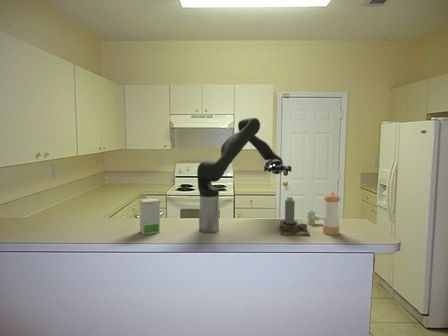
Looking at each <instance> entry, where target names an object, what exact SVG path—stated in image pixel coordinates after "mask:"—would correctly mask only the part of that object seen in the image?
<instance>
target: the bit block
mask: <svg viewBox="0 0 448 336" xmlns="http://www.w3.org/2000/svg"><path fill="white" fill-rule="evenodd" d="M279 222H280V224H279V225H278V230H279V233H280V236H292V235H296V236H301V237H310V236H311V235H310V232H309V230H308V223H298V221H297V220H294V225H284V224H285V220H280V221H279ZM296 236H295V237H296Z"/></svg>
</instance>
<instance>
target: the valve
mask: <svg viewBox="0 0 448 336" xmlns="http://www.w3.org/2000/svg"><path fill="white" fill-rule="evenodd" d="M306 218H307V224H308V223H309V225H315V224H316V221H320V220H323V221H324V215H321V216H320V215H319V214H316V211H315V210H308V211H307V216H306Z"/></svg>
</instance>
